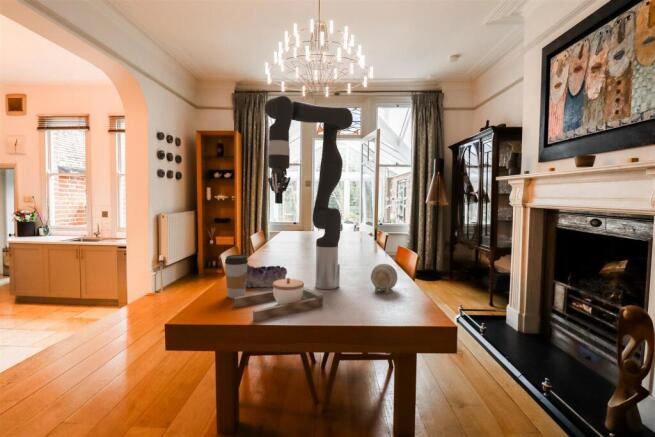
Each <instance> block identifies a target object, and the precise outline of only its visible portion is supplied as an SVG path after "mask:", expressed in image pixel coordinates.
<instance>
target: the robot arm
mask: <svg viewBox="0 0 655 437" xmlns="http://www.w3.org/2000/svg"><path fill="white" fill-rule="evenodd" d="M264 105H265V106H264V111H265V114H266V115H267V116H268V117H269V118H270V119H273V120H274V122H273V123H272V124H271V125H270V126H269V128H268V145H267V146H268V148H267V149H268V150H267V157H268V158H267V162H268V163H267V167H268V168H269V169H271V173H270V174H271V176H270V177H268V178H267V181H268V185H269V187H270V190H271V192H273V193H274V203H275V204H277V205H278V204H279V205H280V204H283V193H284V192H286V191H287V189H288V186H289V184H290V181H291V176H288V175H287V173H288V172H287V170H288V169H290V158H291V156H290V155H291V153H290V128H291V125H292V121H295V122H301V123H308V124H313V123H315V124H318V123H319V124H320V123H322V124H323V125H322V129H323V130H322V131H323V132H322V134H323V136H322V147H321V152H322V153H321V158H320V165H319V166H320V168H319V176H318V177H319V178H318V185H317V192H316V197H315V198H316V199H315V202H314V206H313V210H312V211H313V212H312V224H313V226H314V227H315V228H316V229H319V230H324V234H323V235H322V236H321V237H318V238H317V239H316V240H315V288H317V289H321V290H334V289H337V288H338V287H340V276H341V275H340V273H341V272H340V270H341V267H340V266H341V264H340V263H339V242H340V240H341V226H342V215H341V212H340V211H339V209H338V208H336V207H329V204H330V199H331V195H332V194H333V192H334V190H335V189H336V188H337V186H338V185H339V183H340V181H341V177H342V174H343V172H342V171H343V164H344V163H343V158H342V154H341V153H340V150H339V148H338V145H337V138H338V136H337V135H338V132H339V131H344V130H348V129H349V128H351V126H352V124H353V121H354V120H353V119H354V117H353V113H352V112H351V109H349V108H348V107H345V106H339V107H337V106H336V107H333V106H325V105H324V106H323V105H318V104H313V103H308V102H303V101H296V100H294V101H293V100H292V99H291V98H290V97H289V96H287V95H280V96H279V95H278V96H276V97H273V98H271V99H269V100H267V101H266V103H265V104H264Z"/></svg>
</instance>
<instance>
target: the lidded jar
mask: <svg viewBox="0 0 655 437" xmlns="http://www.w3.org/2000/svg"><path fill="white" fill-rule="evenodd" d="M304 285H305V283H304V281H303V280H301V279H295V278H291V277H286V279H282V280H277V281H274V282H273V287H272V291H273V294H274V298H275V300H274V301H275V302H276V303H277V304H278V305H283V304H287V303H292V302H297V301H302V299H301V298H302V295H303V287H305V286H304Z"/></svg>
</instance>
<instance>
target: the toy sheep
mask: <svg viewBox="0 0 655 437" xmlns="http://www.w3.org/2000/svg"><path fill="white" fill-rule="evenodd" d="M370 281H371V283H372V285H373V286H374V293H376V294H378V293H379V290H381V291H384V294H385V295H388V294H389V290H392V289H393V288H394V287H395V286H396V284H397V282H398V272H397V269H395V268H394V267H393V266H392V265H390V264H388V263H380V264H378V265H376V266H374V267H373V269H372V270H371V273H370Z"/></svg>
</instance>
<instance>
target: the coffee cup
mask: <svg viewBox="0 0 655 437" xmlns="http://www.w3.org/2000/svg"><path fill="white" fill-rule="evenodd" d="M248 260H249V259H248V256H247V255H245V254H231V255H227V256H226V257H225V259H224V261H225V262H224V265H225V280H226V281H225V282H226V289H227V290H226V291H227V297H228V298H229V299H234V298H235V297H240V296H246V289H247V288H246V280H247V264H249V263H248V262H249V261H248Z"/></svg>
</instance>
